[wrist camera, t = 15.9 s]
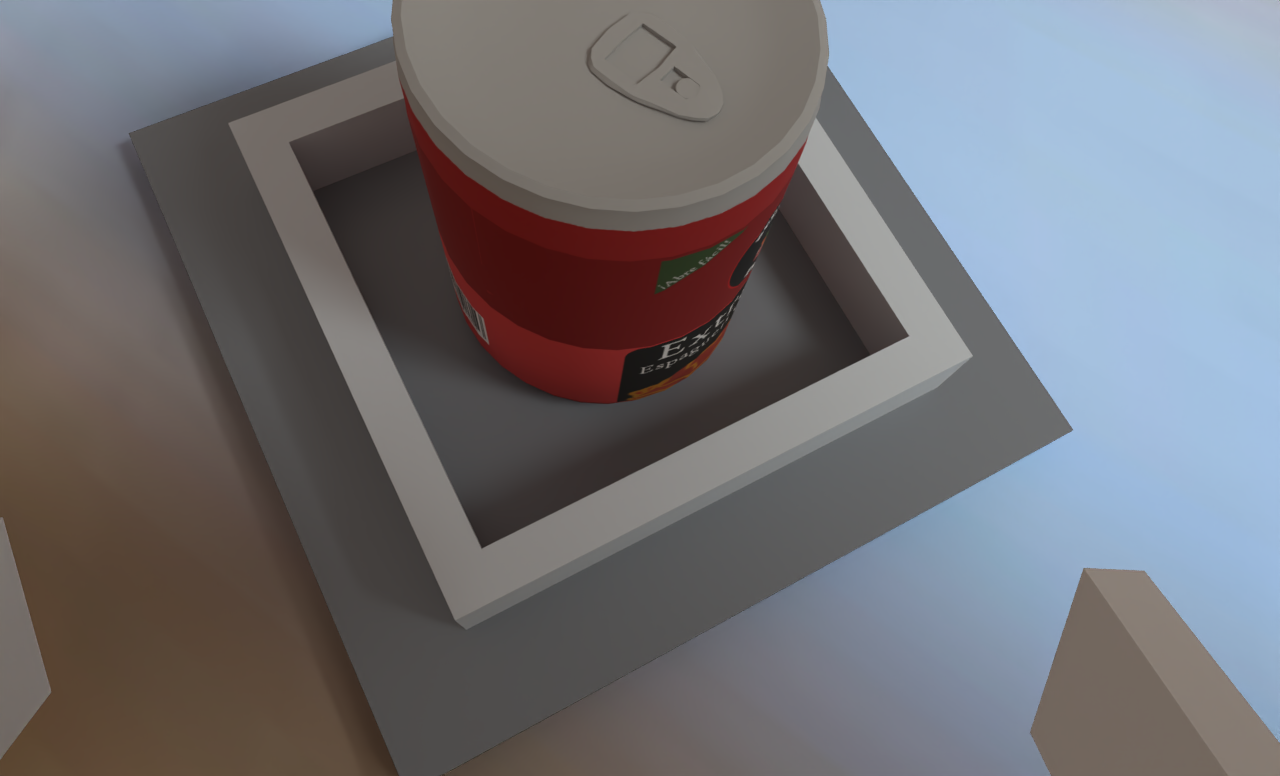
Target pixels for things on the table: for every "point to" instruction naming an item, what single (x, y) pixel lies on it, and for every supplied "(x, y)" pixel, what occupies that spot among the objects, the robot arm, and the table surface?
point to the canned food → (606, 171)
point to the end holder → (566, 408)
